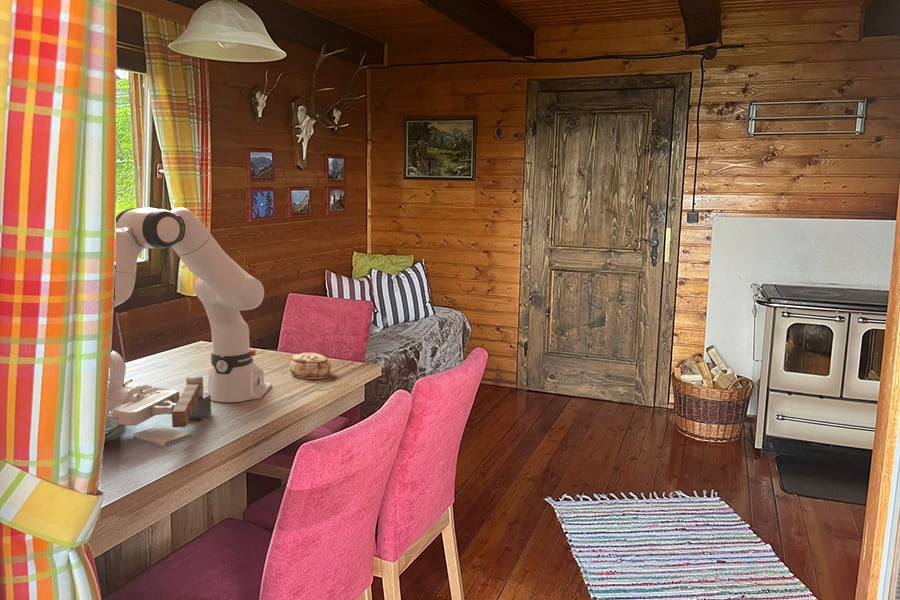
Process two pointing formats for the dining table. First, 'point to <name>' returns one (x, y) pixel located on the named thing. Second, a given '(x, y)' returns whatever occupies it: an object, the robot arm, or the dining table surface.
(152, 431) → the external hard drive
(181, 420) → the walnut swing arm
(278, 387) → the dining table surface
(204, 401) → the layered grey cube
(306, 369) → the trinket box
